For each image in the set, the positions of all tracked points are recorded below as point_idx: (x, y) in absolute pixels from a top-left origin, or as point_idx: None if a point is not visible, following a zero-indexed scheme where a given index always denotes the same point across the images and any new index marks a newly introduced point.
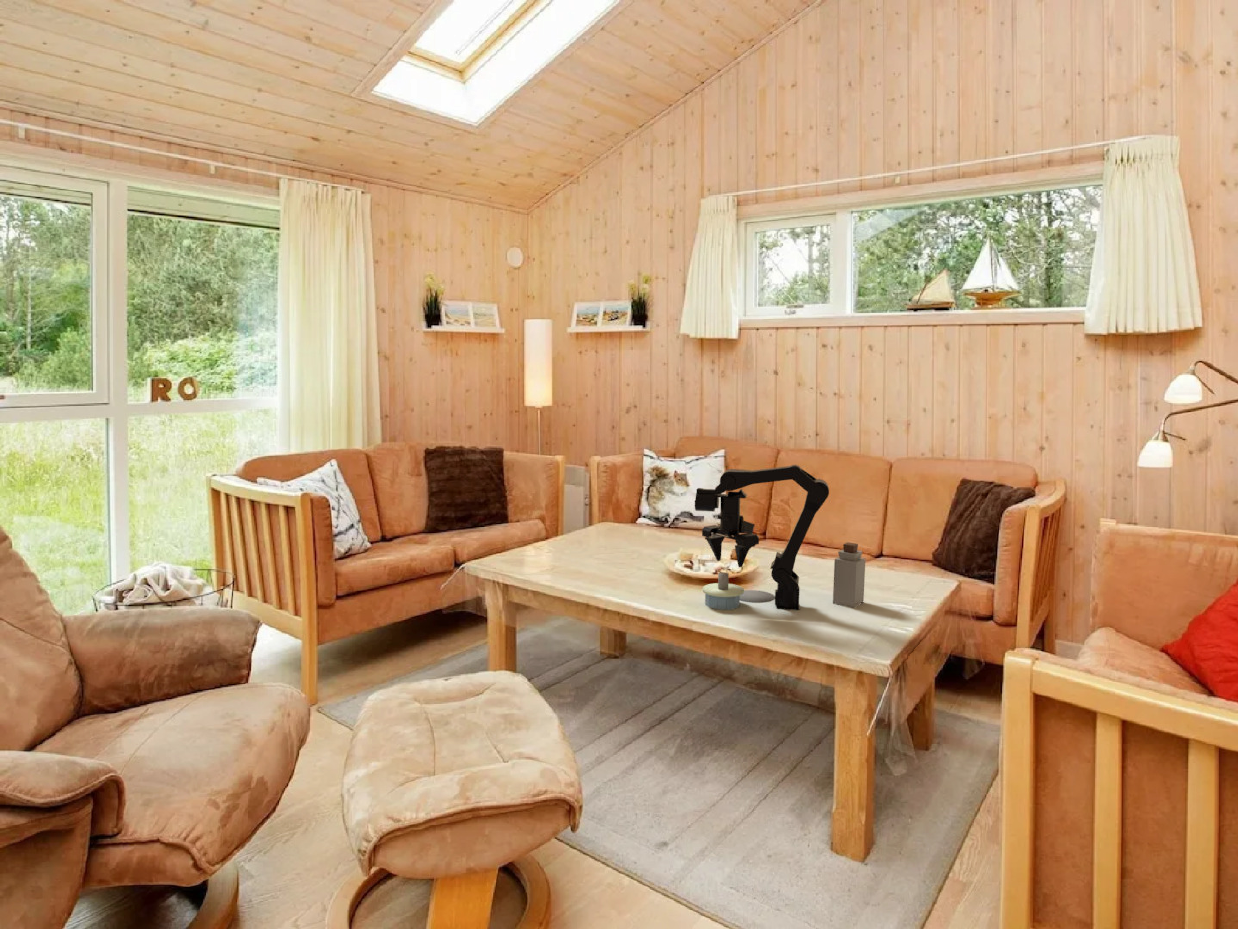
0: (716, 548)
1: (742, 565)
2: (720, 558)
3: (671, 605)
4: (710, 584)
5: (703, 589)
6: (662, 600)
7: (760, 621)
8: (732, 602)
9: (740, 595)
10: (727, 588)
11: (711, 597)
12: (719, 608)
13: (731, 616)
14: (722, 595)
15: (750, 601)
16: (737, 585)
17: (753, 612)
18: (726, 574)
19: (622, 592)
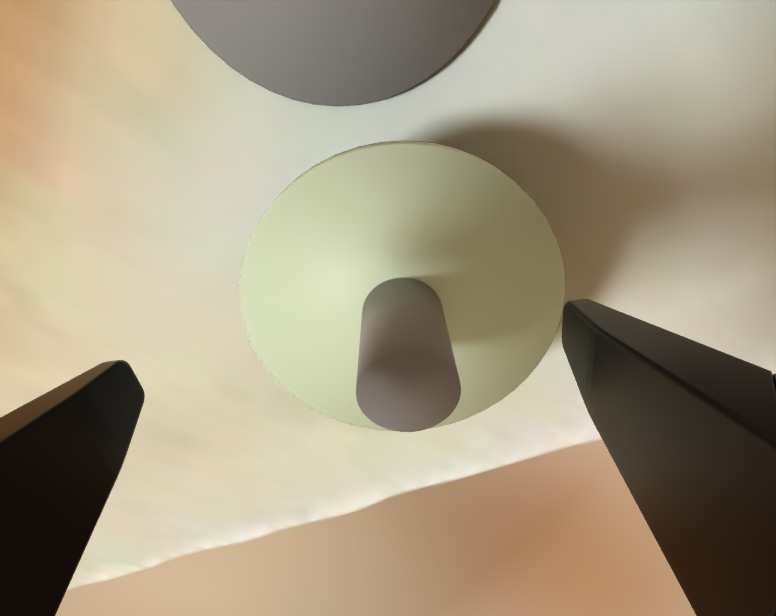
0: (12, 597)
1: (600, 306)
2: (107, 375)
3: (287, 461)
4: (261, 334)
5: (355, 425)
6: (199, 461)
7: (757, 239)
8: None
9: (263, 3)
10: (442, 306)
11: None
12: None
13: None
14: (515, 383)
15: (442, 37)
16: (376, 150)
17: (619, 171)
18: (443, 383)
19: None
